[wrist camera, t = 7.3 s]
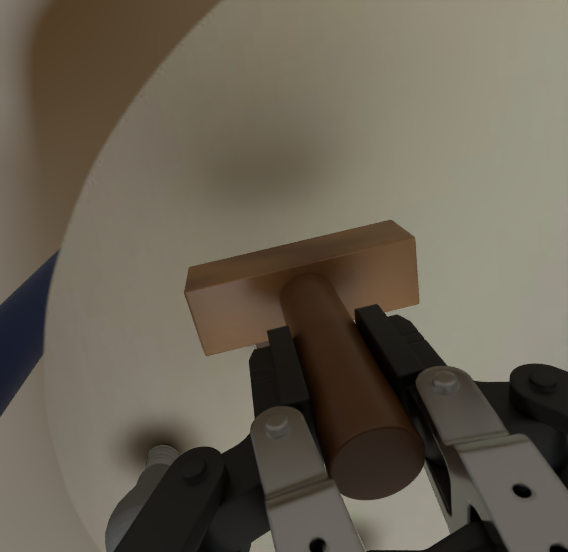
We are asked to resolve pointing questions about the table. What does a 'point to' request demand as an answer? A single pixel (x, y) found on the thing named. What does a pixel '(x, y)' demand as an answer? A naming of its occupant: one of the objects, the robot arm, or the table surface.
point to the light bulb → (139, 494)
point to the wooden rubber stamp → (325, 340)
